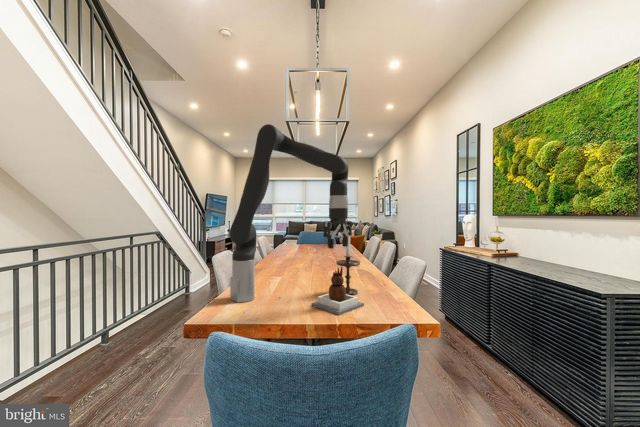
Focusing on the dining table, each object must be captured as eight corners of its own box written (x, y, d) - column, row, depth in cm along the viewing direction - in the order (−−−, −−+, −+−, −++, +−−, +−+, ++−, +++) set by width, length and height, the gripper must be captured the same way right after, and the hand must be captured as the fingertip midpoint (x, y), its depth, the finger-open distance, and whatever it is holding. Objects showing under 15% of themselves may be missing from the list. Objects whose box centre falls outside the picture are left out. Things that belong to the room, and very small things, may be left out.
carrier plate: (339, 315, 106) (339, 305, 106) (311, 305, 117) (311, 296, 117) (364, 305, 117) (364, 297, 117) (336, 297, 127) (336, 289, 127)
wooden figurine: (347, 301, 118) (347, 265, 118) (343, 306, 113) (343, 268, 113) (331, 300, 121) (331, 264, 120) (327, 304, 115) (327, 266, 115)
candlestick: (333, 294, 132) (333, 217, 132) (340, 288, 142) (340, 217, 142) (356, 297, 128) (356, 218, 127) (362, 290, 138) (362, 217, 138)
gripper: (343, 207, 124) (342, 245, 124) (319, 207, 114) (318, 248, 114) (356, 207, 118) (356, 246, 119) (333, 206, 108) (332, 250, 109)
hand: (338, 247), depth 116 cm, fingers open, 8 cm apart
